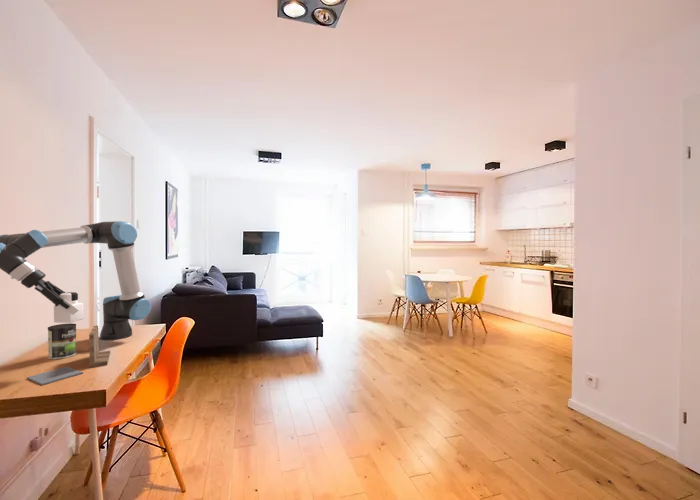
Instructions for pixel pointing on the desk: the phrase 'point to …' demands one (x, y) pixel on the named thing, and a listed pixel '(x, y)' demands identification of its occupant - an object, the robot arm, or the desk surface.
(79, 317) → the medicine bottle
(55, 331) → the coffee can
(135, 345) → the desk surface
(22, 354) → the desk surface
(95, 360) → the walnut backboard
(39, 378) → the charcoal mat
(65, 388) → the desk surface
